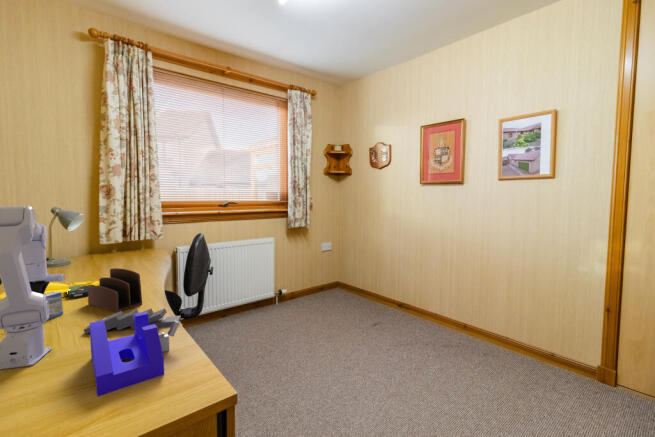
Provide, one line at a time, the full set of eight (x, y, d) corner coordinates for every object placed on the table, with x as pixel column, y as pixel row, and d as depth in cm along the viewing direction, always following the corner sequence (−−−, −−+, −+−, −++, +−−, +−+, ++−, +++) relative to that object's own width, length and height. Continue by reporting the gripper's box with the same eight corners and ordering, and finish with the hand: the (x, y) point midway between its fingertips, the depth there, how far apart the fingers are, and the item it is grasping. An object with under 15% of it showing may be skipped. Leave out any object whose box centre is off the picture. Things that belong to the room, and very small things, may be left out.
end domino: (145, 328, 106) (177, 325, 109) (145, 323, 106) (177, 321, 108) (150, 322, 111) (180, 320, 113) (150, 318, 111) (180, 315, 113)
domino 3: (118, 330, 104) (147, 318, 105) (115, 326, 104) (145, 313, 105) (124, 324, 109) (153, 312, 110) (122, 320, 109) (151, 308, 110)
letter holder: (113, 297, 137) (111, 266, 136) (142, 305, 129) (141, 271, 127) (87, 305, 128) (85, 271, 127) (117, 313, 120) (115, 277, 118)
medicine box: (40, 323, 110) (38, 298, 109) (30, 321, 111) (28, 298, 110) (63, 314, 118) (62, 291, 117) (54, 313, 119) (52, 291, 118)
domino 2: (102, 332, 103) (133, 318, 105) (100, 328, 103) (131, 314, 104) (109, 326, 108) (138, 313, 110) (106, 322, 107) (136, 309, 109)
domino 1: (85, 334, 101) (118, 320, 104) (83, 329, 101) (115, 316, 103) (92, 328, 106) (123, 314, 108) (90, 323, 106) (121, 310, 108)
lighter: (153, 354, 89) (152, 327, 88) (152, 352, 90) (151, 325, 90) (180, 347, 93) (179, 320, 93) (178, 344, 95) (178, 319, 94)
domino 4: (132, 329, 105) (162, 318, 106) (130, 325, 105) (160, 313, 106) (138, 323, 110) (166, 312, 111) (136, 319, 110) (165, 308, 111)
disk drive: (99, 295, 142) (92, 288, 152) (99, 289, 141) (92, 282, 152) (69, 301, 134) (64, 292, 144) (69, 294, 134) (64, 286, 144)
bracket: (91, 359, 87) (89, 323, 86) (147, 344, 95) (146, 311, 94) (97, 398, 70) (95, 352, 70) (164, 375, 79) (162, 335, 78)
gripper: (68, 258, 103) (70, 298, 104) (13, 260, 99) (16, 302, 100) (57, 263, 96) (60, 306, 98) (-3, 266, 92) (1, 310, 93)
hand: (37, 304), depth 98 cm, fingers closed
